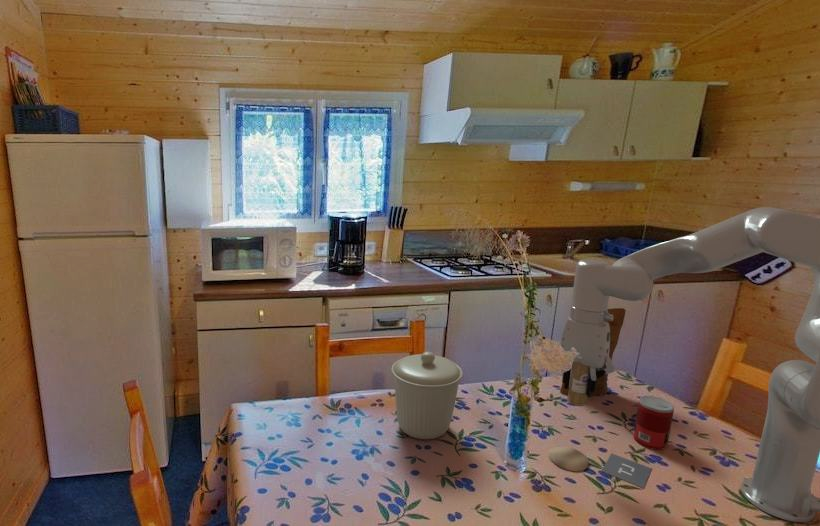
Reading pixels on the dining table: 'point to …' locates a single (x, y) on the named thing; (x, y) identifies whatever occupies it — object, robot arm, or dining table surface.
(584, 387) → the sprinkles bottle
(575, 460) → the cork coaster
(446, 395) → the canister
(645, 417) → the canned food
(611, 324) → the pancake mix bag
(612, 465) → the tile
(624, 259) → the robot arm
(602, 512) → the dining table surface
